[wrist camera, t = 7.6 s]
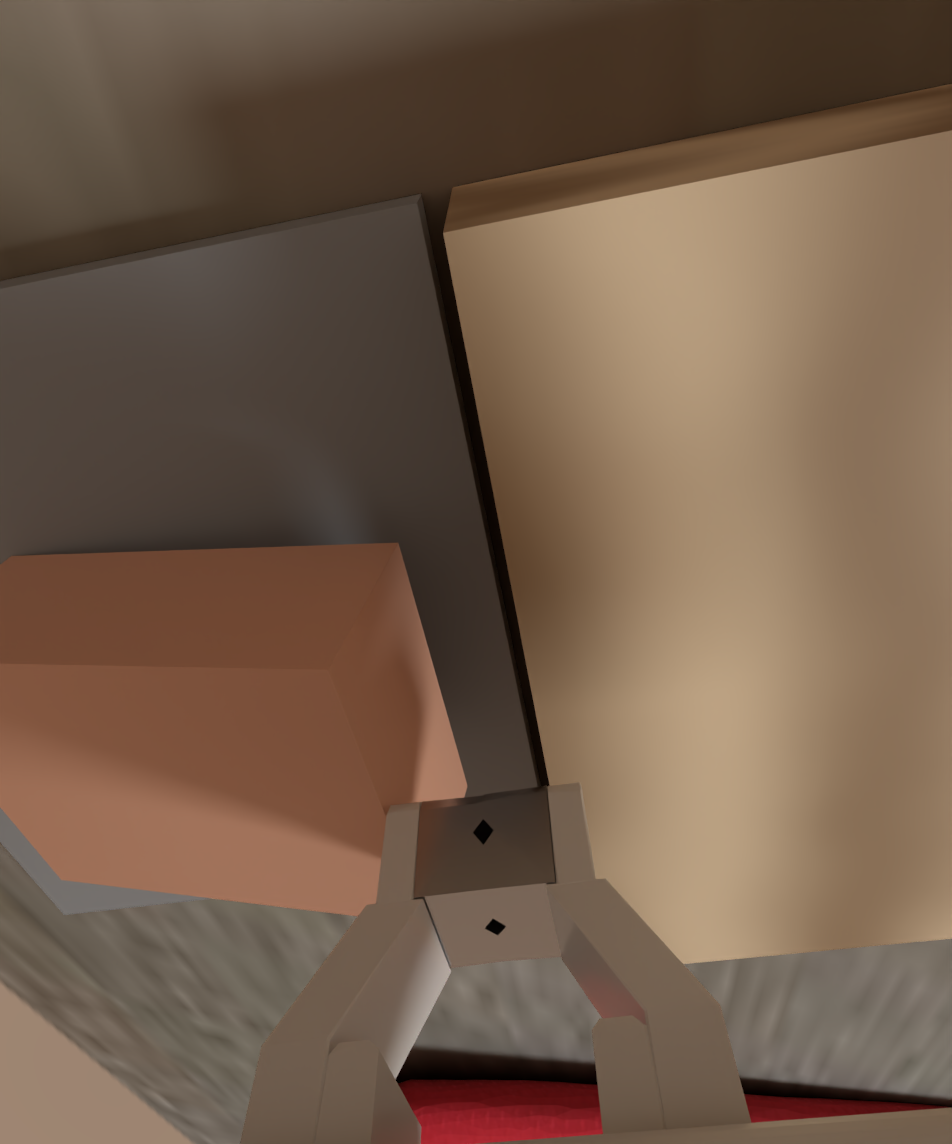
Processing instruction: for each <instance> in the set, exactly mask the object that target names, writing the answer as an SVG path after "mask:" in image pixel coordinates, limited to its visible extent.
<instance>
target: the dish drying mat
mask: <svg viewBox="0 0 952 1144" xmlns="http://www.w3.org/2000/svg"><path fill="white" fill-rule="evenodd" d="M398 1085H399V1087H400V1089H401V1091H402V1092H403V1094H404V1096H405V1098H406V1100H407V1102H408V1103H409V1105H410V1107H411V1109H412V1111H413V1112H414V1114H415V1116H416V1118H417V1120H418V1122H419V1123H420V1125H421V1144H479V1143H493V1142H506V1141H519V1140H532V1139H545V1138H558V1137H571V1136H584V1135H597V1134H603V1130H602V1120H601V1111H600V1102H599V1093H598V1085H593V1084H578V1083H565V1082H550V1081H528V1080H408V1081H404V1082H402V1083H398ZM744 1096H745V1100H746V1104H747V1108H748V1111H749V1115H750V1119H751V1123H755V1122H768V1121H781V1120H794V1119H807V1118H820V1117H833V1116H846V1115H859V1114H873V1113H886V1112H899V1111H912V1110H925V1109H938V1108H951V1107H944V1106H934V1105H924V1104H911V1103H896V1102H878V1101H858V1100H841V1099H823V1098H796V1097H776V1096H763V1095H749V1094H744Z"/></svg>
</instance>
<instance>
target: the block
mask: <svg viewBox="0 0 952 1144" xmlns="http://www.w3.org/2000/svg"><path fill="white" fill-rule="evenodd" d="M466 789H467V782H466V779H465V775H464V772H463V768H462V765H461V761H460V758H459V754H458V750H457V747H456V743H455V740H454V736H453V733H452V729H451V726H450V722H449V719H448V715H447V712H446V708H445V705H444V701H443V698H442V694H441V691H440V687H439V684H438V680H437V677H436V673H435V670H434V666H433V663H432V659H431V656H430V652H429V649H428V645H427V642H426V638H425V635H424V631H423V628H422V624H421V621H420V617H419V614H418V610H417V607H416V603H415V599H414V596H413V592H412V589H411V585H410V582H409V578H408V575H407V571H406V568H405V564H404V561H403V557H402V554H401V550H400V547H399V543H373V544H344V545H315V546H286V547H257V548H228V549H199V550H170V551H141V552H112V553H83V554H54V555H25V556H11V557H9V558H8V559H7V560H6V561H4V562H3V563H2V564H0V808H1V809H2V810H3V811H4V812H5V814H6V815H7V816H8V817H9V818H10V820H11V821H12V822H13V823H14V824H15V826H16V827H17V828H18V829H19V830H20V831H21V833H22V834H23V835H24V836H25V837H26V839H27V840H28V841H29V842H30V843H31V845H32V846H33V847H34V848H35V849H36V850H37V852H38V853H39V854H40V855H41V856H42V858H43V859H44V860H45V861H46V862H47V864H48V865H49V866H50V867H51V868H52V869H53V871H54V872H55V873H56V874H57V875H58V877H59V878H60V879H61V880H65V881H73V882H81V883H90V884H98V885H106V886H114V887H122V888H131V889H139V890H147V891H155V892H163V893H172V894H180V895H188V896H196V897H204V898H213V899H221V900H229V901H237V902H245V903H254V904H262V905H270V906H278V907H286V908H295V909H303V910H311V911H319V912H327V913H336V914H344V915H352V916H359V914H360V913H361V912H362V910H363V909H364V908H365V906H366V905H369V904H376V898H377V890H378V882H379V873H380V865H381V857H382V848H383V840H384V832H385V823H386V815H387V813H388V810H389V808H390V805H397V804H406V803H415V802H423V801H433V800H444V799H454V798H464V797H465V793H466Z"/></svg>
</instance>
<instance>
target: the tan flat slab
mask: <svg viewBox="0 0 952 1144" xmlns="http://www.w3.org/2000/svg"><path fill="white" fill-rule="evenodd" d="M443 235H444V240H445V246H446V251H447V256H448V261H449V266H450V271H451V277H452V282H453V287H454V292H455V297H456V303H457V308H458V313H459V318H460V323H461V329H462V334H463V339H464V344H465V349H466V355H467V360H468V365H469V370H470V375H471V380H472V386H473V391H474V396H475V401H476V406H477V412H478V417H479V422H480V427H481V432H482V438H483V443H484V448H485V453H486V458H487V463H488V469H489V474H490V479H491V484H492V489H493V495H494V500H495V505H496V510H497V515H498V521H499V526H500V531H501V536H502V541H503V547H504V552H505V557H506V562H507V567H508V572H509V578H510V583H511V588H512V593H513V598H514V604H515V609H516V614H517V619H518V624H519V630H520V635H521V640H522V645H523V650H524V656H525V661H526V666H527V671H528V676H529V681H530V687H531V692H532V697H533V702H534V707H535V713H536V718H537V723H538V728H539V733H540V739H541V744H542V749H543V754H544V759H545V765H546V770H547V775H548V780H549V785H550V786H553V785H561V784H569V783H577V782H580V783H581V787H582V792H583V799H584V805H585V812H586V818H587V824H588V831H589V837H590V843H591V850H592V856H593V862H594V869H595V875H596V879H604V878H606V879H607V880H608V881H609V883H610V884H611V885H612V886H613V887H614V888H615V889H616V890H617V891H618V893H619V894H620V895H621V896H622V897H623V898H624V899H625V900H626V901H627V903H628V904H629V905H630V906H631V907H632V908H633V909H634V910H635V911H636V912H637V914H638V915H639V916H640V917H641V918H642V919H643V920H644V921H645V922H646V924H647V925H648V926H649V927H650V928H651V929H652V930H653V931H654V932H655V934H656V935H657V936H658V937H659V938H660V939H661V940H662V941H663V942H664V943H665V945H666V946H667V947H668V948H669V949H670V950H671V951H672V952H673V953H674V955H675V956H676V957H677V958H678V959H679V960H680V961H681V962H682V963H683V964H688V963H699V962H709V961H720V960H730V959H741V958H751V957H762V956H772V955H783V954H793V953H804V952H814V951H825V950H836V949H846V948H857V947H867V946H878V945H888V944H899V943H909V942H920V941H930V940H941V939H951V938H952V84H948V85H943V86H938V87H933V88H929V89H924V90H919V91H914V92H909V93H905V94H900V95H895V96H890V97H885V98H880V99H876V100H871V101H866V102H861V103H856V104H852V105H847V106H842V107H837V108H832V109H827V110H823V111H818V112H813V113H808V114H803V115H799V116H794V117H789V118H784V119H779V120H774V121H770V122H765V123H760V124H755V125H750V126H745V127H741V128H736V129H731V130H726V131H721V132H717V133H712V134H707V135H702V136H697V137H692V138H688V139H683V140H678V141H673V142H668V143H664V144H659V145H654V146H649V147H644V148H639V149H635V150H630V151H625V152H620V153H615V154H611V155H606V156H601V157H596V158H591V159H586V160H582V161H577V162H572V163H567V164H562V165H558V166H553V167H548V168H543V169H538V170H533V171H529V172H524V173H519V174H514V175H509V176H504V177H500V178H495V179H490V180H485V181H480V182H476V183H471V184H466V185H461V186H456V187H452V192H451V197H450V202H449V207H448V211H447V216H446V221H445V226H444V231H443Z"/></svg>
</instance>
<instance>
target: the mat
mask: <svg viewBox="0 0 952 1144" xmlns="http://www.w3.org/2000/svg"><path fill="white" fill-rule="evenodd" d="M373 543H399V547H400V550H401V554H402V557H403V561H404V564H405V568H406V571H407V575H408V578H409V582H410V585H411V589H412V592H413V596H414V599H415V603H416V607H417V610H418V614H419V617H420V621H421V624H422V628H423V631H424V635H425V638H426V642H427V645H428V649H429V652H430V656H431V659H432V663H433V666H434V670H435V673H436V677H437V680H438V684H439V687H440V691H441V694H442V698H443V701H444V705H445V708H446V712H447V715H448V719H449V722H450V726H451V729H452V733H453V736H454V740H455V743H456V747H457V750H458V754H459V758H460V761H461V765H462V768H463V772H464V775H465V779H466V782H467V789H466V793H465V797H475V796H484V794H490V793H497V792H504V791H511V790H519V789H526V788H533V787H540V786H541V783H540V778H539V773H538V768H537V763H536V758H535V753H534V748H533V743H532V738H531V733H530V729H529V724H528V719H527V714H526V709H525V704H524V699H523V694H522V689H521V684H520V679H519V674H518V669H517V664H516V659H515V654H514V649H513V645H512V640H511V635H510V630H509V625H508V620H507V615H506V610H505V605H504V600H503V595H502V590H501V585H500V580H499V575H498V570H497V566H496V561H495V556H494V551H493V546H492V541H491V536H490V531H489V526H488V521H487V516H486V511H485V506H484V501H483V496H482V491H481V486H480V482H479V477H478V472H477V467H476V462H475V457H474V452H473V447H472V442H471V437H470V432H469V427H468V422H467V417H466V412H465V407H464V402H463V398H462V393H461V388H460V383H459V378H458V373H457V368H456V363H455V358H454V353H453V348H452V343H451V338H450V333H449V328H448V323H447V319H446V314H445V309H444V304H443V299H442V294H441V289H440V284H439V279H438V274H437V269H436V264H435V259H434V254H433V249H432V244H431V239H430V235H429V230H428V225H427V220H426V215H425V210H424V205H423V200H422V195H421V194H418V195H413V196H408V197H403V198H398V199H394V200H389V201H384V202H379V203H374V204H370V205H365V206H360V207H355V208H350V209H345V210H341V211H336V212H331V213H326V214H321V215H316V216H312V217H307V218H302V219H297V220H292V221H288V222H283V223H278V224H273V225H268V226H263V227H259V228H254V229H249V230H244V231H239V232H235V233H230V234H225V235H220V236H215V237H210V238H206V239H201V240H196V241H191V242H186V243H182V244H177V245H172V246H167V247H162V248H157V249H153V250H148V251H143V252H138V253H133V254H128V255H124V256H119V257H114V258H109V259H104V260H100V261H95V262H90V263H85V264H80V265H75V266H71V267H66V268H61V269H56V270H51V271H47V272H42V273H37V274H32V275H27V276H22V277H18V278H13V279H8V280H3V281H0V564H2V563H3V562H4V561H6V560H7V559H8V558H9V557H11V556H25V555H54V554H83V553H112V552H141V551H170V550H199V549H228V548H257V547H286V546H315V545H344V544H373ZM0 842H1V844H2V845H3V846H4V847H5V848H6V849H7V850H8V852H9V853H10V854H11V855H12V856H13V857H14V858H15V859H16V861H17V862H18V863H19V864H20V865H21V866H22V867H23V869H24V870H25V871H26V872H27V873H28V874H29V875H30V877H31V878H32V879H33V880H34V881H35V882H36V883H37V885H38V886H39V887H40V888H41V889H42V890H43V891H44V892H45V894H46V895H47V896H48V897H49V898H50V899H51V900H52V902H53V903H54V904H55V905H56V906H57V907H58V908H59V910H60V911H61V912H62V913H63V914H64V915H68V914H77V913H86V912H95V911H104V910H113V909H122V908H131V907H140V906H149V905H158V904H167V903H176V902H185V901H194V900H203V899H212V898H204V897H196V896H188V895H180V894H172V893H163V892H155V891H147V890H139V889H131V888H122V887H114V886H106V885H98V884H90V883H81V882H73V881H65V880H61V879H60V878H59V877H58V875H57V874H56V873H55V872H54V871H53V869H52V868H51V867H50V866H49V865H48V864H47V862H46V861H45V860H44V859H43V858H42V856H41V855H40V854H39V853H38V852H37V850H36V849H35V848H34V847H33V846H32V845H31V843H30V842H29V841H28V840H27V839H26V837H25V836H24V835H23V834H22V833H21V831H20V830H19V829H18V828H17V827H16V826H15V824H14V823H13V822H12V821H11V820H10V818H9V817H8V816H7V815H6V814H5V812H4V811H3V810H2V809H1V808H0Z"/></svg>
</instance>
